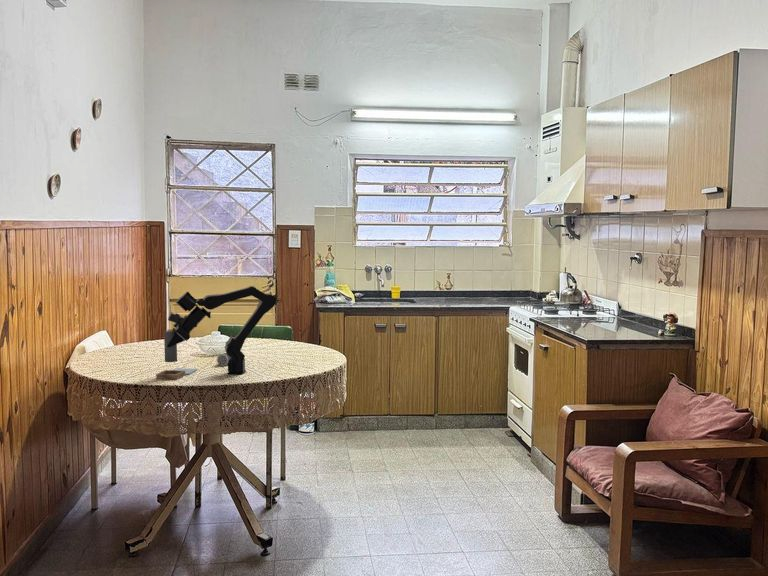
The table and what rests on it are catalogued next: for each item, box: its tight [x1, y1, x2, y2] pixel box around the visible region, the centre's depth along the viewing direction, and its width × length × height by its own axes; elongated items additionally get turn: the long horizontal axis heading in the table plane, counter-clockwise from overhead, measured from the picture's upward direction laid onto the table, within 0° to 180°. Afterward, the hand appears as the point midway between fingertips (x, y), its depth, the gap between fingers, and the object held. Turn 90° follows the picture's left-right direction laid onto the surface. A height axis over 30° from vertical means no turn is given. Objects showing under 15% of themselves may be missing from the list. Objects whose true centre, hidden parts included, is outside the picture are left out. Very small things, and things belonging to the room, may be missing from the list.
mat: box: [173, 367, 198, 376], centre depth 310 cm, size 10×10×1 cm
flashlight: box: [216, 352, 231, 367], centre depth 333 cm, size 15×5×5 cm, turn 166°
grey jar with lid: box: [163, 328, 178, 363], centre depth 299 cm, size 5×5×14 cm
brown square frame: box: [155, 369, 186, 381], centre depth 300 cm, size 9×9×2 cm
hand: (167, 345), depth 299 cm, fingers closed on grey jar with lid, 5 cm apart
